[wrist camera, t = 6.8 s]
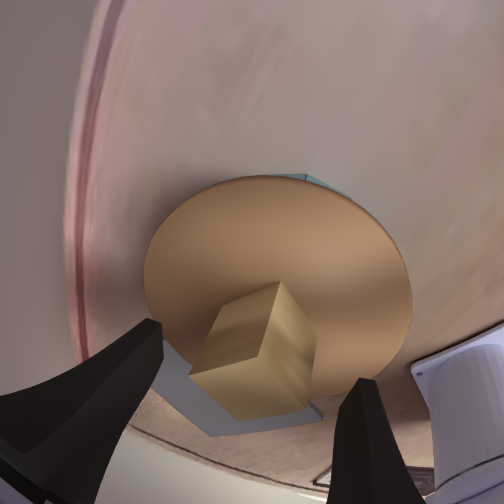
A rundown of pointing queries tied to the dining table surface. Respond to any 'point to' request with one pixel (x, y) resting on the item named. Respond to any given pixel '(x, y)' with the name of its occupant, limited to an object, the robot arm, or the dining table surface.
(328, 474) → the chocolate bar
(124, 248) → the dining table surface
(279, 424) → the mat
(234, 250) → the lid
